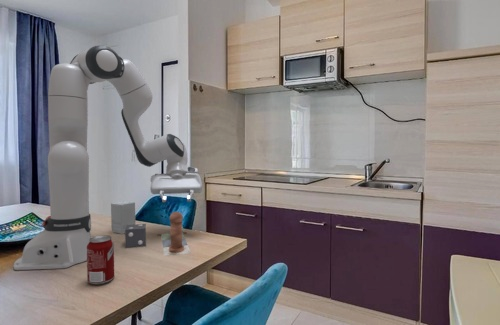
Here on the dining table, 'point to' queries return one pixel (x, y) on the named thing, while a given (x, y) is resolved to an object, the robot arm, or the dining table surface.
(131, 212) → the supplement box
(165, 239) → the game board
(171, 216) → the pawn
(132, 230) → the die
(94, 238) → the soda can
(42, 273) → the dining table surface
